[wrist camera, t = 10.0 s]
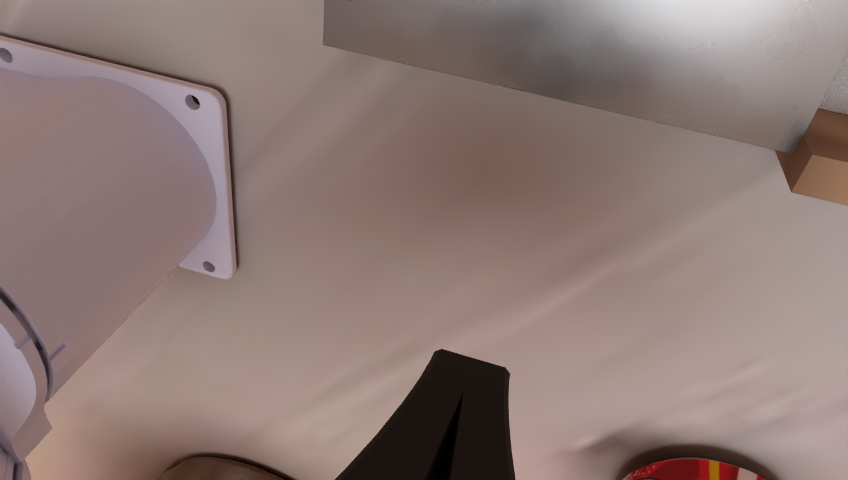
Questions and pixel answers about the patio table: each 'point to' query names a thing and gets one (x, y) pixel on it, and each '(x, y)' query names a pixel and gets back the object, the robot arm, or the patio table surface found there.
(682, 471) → the soda can
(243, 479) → the plant pot
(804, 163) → the box
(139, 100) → the robot arm
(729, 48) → the grey plate
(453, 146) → the patio table surface
